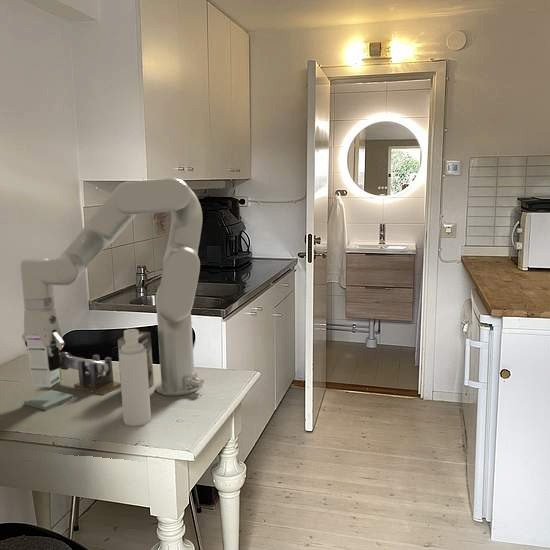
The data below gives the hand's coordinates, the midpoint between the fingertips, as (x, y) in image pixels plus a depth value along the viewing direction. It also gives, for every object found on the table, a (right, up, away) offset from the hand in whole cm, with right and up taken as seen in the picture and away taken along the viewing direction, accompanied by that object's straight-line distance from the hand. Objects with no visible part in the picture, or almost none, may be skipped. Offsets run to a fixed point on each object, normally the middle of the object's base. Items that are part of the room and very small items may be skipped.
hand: (45, 366), depth 155 cm
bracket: (+11, -8, +12) cm, 18 cm away
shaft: (+6, -4, +14) cm, 16 cm away
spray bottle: (+28, -12, -12) cm, 33 cm away
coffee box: (+23, -8, +9) cm, 26 cm away
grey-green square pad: (0, -10, +2) cm, 10 cm away
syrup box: (0, -5, +1) cm, 5 cm away
